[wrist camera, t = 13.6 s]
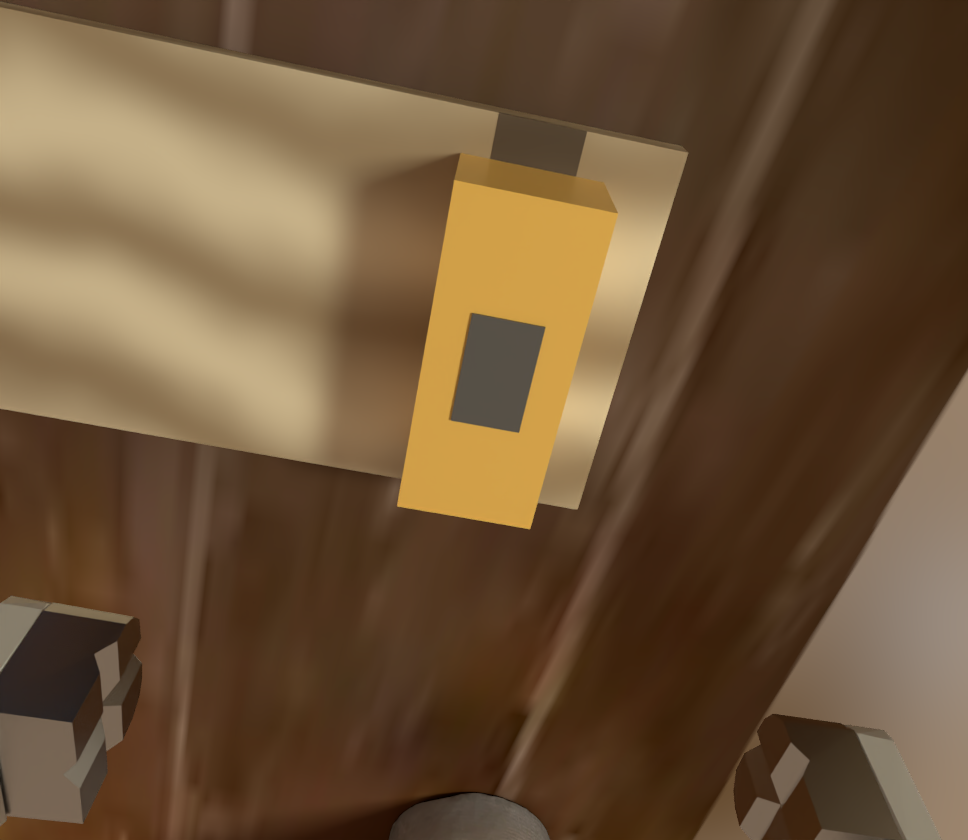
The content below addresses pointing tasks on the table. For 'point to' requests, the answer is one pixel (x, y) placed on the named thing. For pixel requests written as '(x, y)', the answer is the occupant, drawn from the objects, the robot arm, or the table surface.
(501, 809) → the pillar candle
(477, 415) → the block
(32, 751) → the robot arm
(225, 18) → the table surface
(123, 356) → the plywood panel
